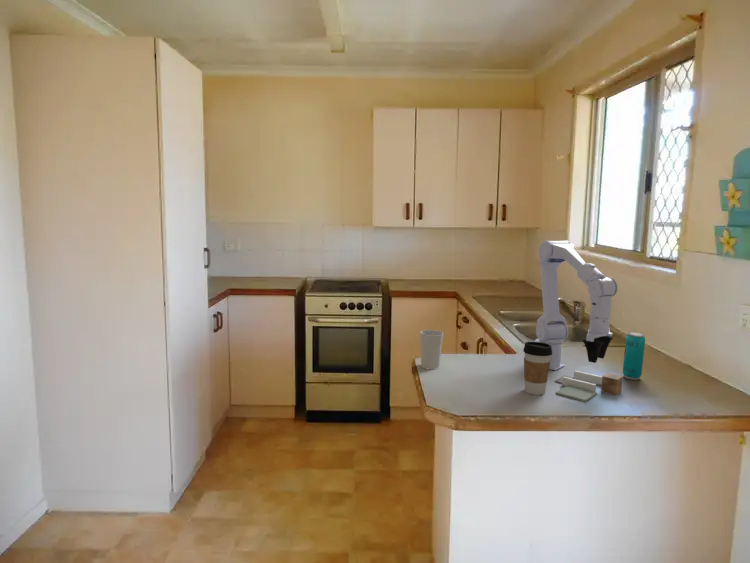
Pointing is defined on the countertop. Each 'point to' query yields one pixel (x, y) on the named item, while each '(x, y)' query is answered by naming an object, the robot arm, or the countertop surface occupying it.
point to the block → (611, 384)
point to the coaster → (576, 393)
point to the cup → (431, 348)
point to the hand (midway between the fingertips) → (596, 359)
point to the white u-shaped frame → (581, 384)
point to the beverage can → (633, 355)
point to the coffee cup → (536, 366)
